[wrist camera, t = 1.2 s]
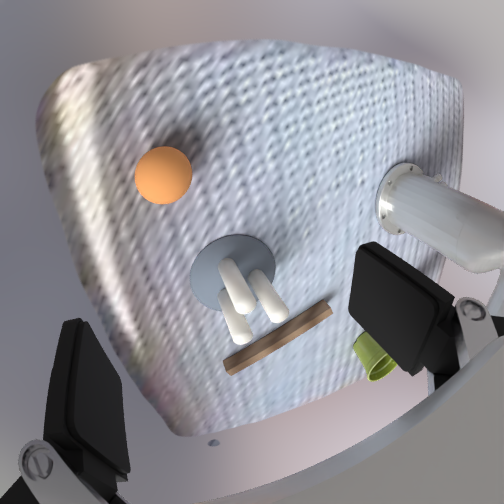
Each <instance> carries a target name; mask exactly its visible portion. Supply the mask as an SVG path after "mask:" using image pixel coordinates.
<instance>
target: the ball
mask: <svg viewBox="0 0 504 504" xmlns="http://www.w3.org/2000/svg"><path fill="white" fill-rule="evenodd" d="M191 180H192V168H191V164H190V162H189V160H188V158H187V157H186V156H185V155H184V154H183V153H182V152H181V151H179V150H177V149H175V148H172V147H167V146H163V147H157V148H154V149H152V150H150V151H148V152H147V153H146V154H145V155H144V156H143V157H142V158H141V159H140V161H139V162H138V164H137V167H136V170H135V183H136V186H137V189H138V190H139V192H140V193H141V195H142V196H143V197H144V198H146V199H147V200H149V201H150V202H153V203H156V204H169V203H172V202H174V201H176V200H178V199H180V198H181V197H182V196H183V195H184V194H185V193H186V192H187V190H188V188H189V186H190V184H191Z"/></svg>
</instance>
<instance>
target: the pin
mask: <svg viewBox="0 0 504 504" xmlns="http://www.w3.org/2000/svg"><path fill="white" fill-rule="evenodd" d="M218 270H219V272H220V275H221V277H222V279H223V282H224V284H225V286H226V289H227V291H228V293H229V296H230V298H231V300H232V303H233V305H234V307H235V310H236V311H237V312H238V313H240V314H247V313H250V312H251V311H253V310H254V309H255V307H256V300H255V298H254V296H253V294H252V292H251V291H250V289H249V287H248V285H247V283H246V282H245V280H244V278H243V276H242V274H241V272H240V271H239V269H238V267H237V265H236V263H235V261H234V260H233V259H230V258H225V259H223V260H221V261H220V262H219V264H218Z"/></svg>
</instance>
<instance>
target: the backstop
mask: <svg viewBox="0 0 504 504" xmlns="http://www.w3.org/2000/svg"><path fill="white" fill-rule="evenodd" d="M331 314H333V312H332V310H331V307H330V306H329V305H328V304H327V303H326V302H325V301H324V299H323V300H321V301H320V302H318V303H317V304H315V305H314V306H312V307H311V308H309V309H308V310H306V311H305V312H303V313H302V314H300V315H299V316H297V317H295V318H294V319H292V320H291V321H289V322H288V323H286V324H284V325H283V326H281V327H280V328H278V329H276V330H275V331H273V332H271V333H270V334H268V335H267V336H265V337H263V338H262V339H260V340H258V341H257V342H255V343H253V344H252V345H250V346H248V347H246V348H245V349H243V350H241V351H240V352H238V353H236V354H234V355H233V356H231V357H229V358H227V359H225V360H224V361H223V364H224V367H225V370H226V372H227V373H228V374H229V375H231V376H232V375H234V374H235V373H237V372H239V371H241V370H243V369H244V368H246V367H248V366H250V365H251V364H253V363H255V362H257V361H258V360H260V359H262V358H264V357H265V356H267V355H269V354H270V353H272V352H274V351H275V350H277V349H279V348H280V347H282V346H284V345H285V344H287V343H288V342H290V341H292V340H293V339H295V338H296V337H298V336H300V335H301V334H303V333H304V332H306V331H307V330H309V329H310V328H312V327H313V326H315V325H317V324H318V323H320V322H321V321H323V320H324V319H326V318H327V317H328V316H330V315H331Z"/></svg>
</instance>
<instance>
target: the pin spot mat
mask: <svg viewBox="0 0 504 504" xmlns="http://www.w3.org/2000/svg"><path fill="white" fill-rule="evenodd" d="M225 258H230V259H233V260H234V261H235V263H236V265H237V267H238V269H239V271H240V272H241V274H242V276H243V278H244V280H245V282H246V283H247V285H248V287H249V289H250V291H251V292H252V294H253V296H254V298H255V300H256V302H257V301H258V300H259V299H258V297H257V295H256V294H255V292H254V290H253V288H252V286H251V285H250V283H249V281H248V275H249V273H250V272H251V271H253V270H255V269H259V270H262V271H263V273H264V274H265V276H266V277H267V279H268V280H269V282H270V283H271V284H272V282H273V279H274V274H275V262H274V258H273V256H272V253H271V252H270V250H269V249H268V248H267V247H266V245H265V244H263V243H262V242H261V241H259V240H257V239H255V238H253V237H249V236H244V235H232V236H227V237H223V238H220V239H218V240H216V241H214V242H212V243H210V244H209V245H208V246H206V247H205V248H204V249H203V250H202V251H201V252H200V253H199V255H198V256H197V257H196V259H195V261H194V263H193V265H192V268H191V272H190V285H191V288H192V291H193V293H194V295H195V297H196V298H197V299H198V300H199V302H200V303H202V304H203V305H204V306H206V307H208V308H210V309H213V310H216V311H222V309H221V306H220V304H219V301H218V298H217V295H218V293H219V292H220V291H221V290H222V289H226V286H225V284H224V282H223V279H222V277H221V275H220V272H219V270H218V264H219V262H220V261H221V260H223V259H225Z"/></svg>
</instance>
